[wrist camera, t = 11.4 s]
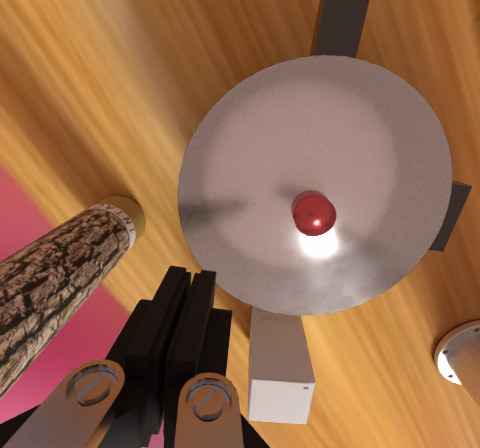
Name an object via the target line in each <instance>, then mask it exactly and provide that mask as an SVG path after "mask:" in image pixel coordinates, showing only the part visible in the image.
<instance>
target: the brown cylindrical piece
mask: <svg viewBox="0 0 480 448" xmlns="http://www.w3.org/2000/svg"><path fill="white" fill-rule="evenodd" d="M144 229H145V217H144V214H143V212H142V210H141V209H140V207H139V206H138V205H137V204H136V203H135V202H134V201H132V200H131V199H129V198H126V197H123V196H117V195H115V196H109V197H106V198H104V199H102V200H101V201H99V202H97V203H96V204H94V205H93V206H91V207H89V208H87V209H86V210H84V211H82V212H81V213H79V214H77V215H76V216H74V217H73V218H71V219H69V220H68V221H66V222H65V223H63V224H61V225H60V226H58V227H56V228H55V229H53V230H52V231H50V232H48V233H47V234H45V235H43V236H42V237H40V238H39V239H37V240H36V241H34V242H32V243H30V244H29V245H27V246H26V247H24V248H22V249H21V250H19V251H18V252H16V253H15V254H13V255H11V256H9V257H8V258H6V259H5V260H3V261H1V262H0V400H1V399H2V397H3V396H4V395H5V394H6V393H7V392H8V390H9V389H10V388H11V387H12V386H13V385H14V383H15V382H16V381H17V380H18V379H19V378H20V377H21V375H22V374H23V373H24V372H25V371H26V369H27V368H28V367H29V366H30V365H31V364H32V363H33V361H34V360H35V359H36V358H37V357H38V355H39V354H40V353H41V352H42V351H43V350H44V348H45V347H46V346H47V345H48V344H49V343H50V342H51V340H52V339H53V338H54V337H55V335H56V334H57V333H58V332H59V331H60V330H61V328H63V326H64V325H65V324H66V323H67V322H68V320H69V319H70V318H71V317H72V316H73V315H74V313H75V312H76V311H77V310H78V309H79V308H80V306H81V305H82V304H83V303H84V302H85V301H86V300H87V298H88V297H89V296H90V295H91V294H92V292H93V291H94V290H95V289H96V288H97V287H98V286H99V284H100V283H101V282H102V281H103V280H104V279H105V277H106V276H107V275H108V274H109V273H110V272H111V270H112V269H113V268H114V267H115V266H116V265H117V263H118V262H119V261H120V260H121V259H122V258H123V256H124V255H125V254H126V253H127V252H128V251H129V249H130V248H131V247H132V246H133V244H134V243H135V242H136V241H137V240H138V239H139V237H140V236H141V235H142V233H143V231H144Z"/></svg>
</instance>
